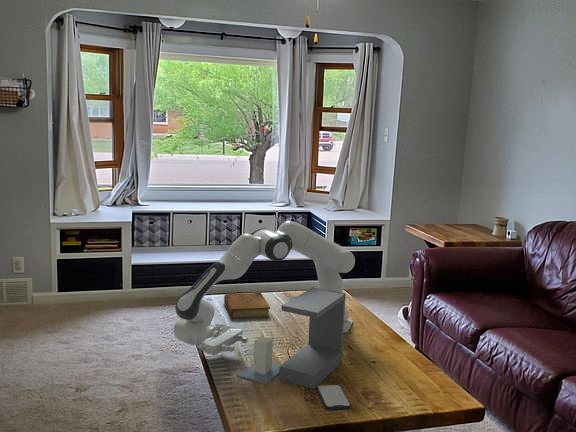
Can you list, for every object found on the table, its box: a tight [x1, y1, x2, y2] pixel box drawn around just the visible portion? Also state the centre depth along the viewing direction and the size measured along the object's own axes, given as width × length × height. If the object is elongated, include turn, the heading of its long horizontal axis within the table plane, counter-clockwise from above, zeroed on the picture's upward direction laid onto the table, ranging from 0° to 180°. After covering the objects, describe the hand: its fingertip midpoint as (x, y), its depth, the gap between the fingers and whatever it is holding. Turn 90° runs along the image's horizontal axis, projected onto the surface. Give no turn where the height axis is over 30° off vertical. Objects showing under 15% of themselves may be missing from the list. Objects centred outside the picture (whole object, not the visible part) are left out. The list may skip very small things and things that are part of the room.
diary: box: [223, 292, 271, 320], centre depth 275 cm, size 23×19×6 cm
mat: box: [236, 362, 281, 385], centre depth 209 cm, size 16×12×1 cm
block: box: [253, 335, 274, 374], centre depth 208 cm, size 5×5×12 cm
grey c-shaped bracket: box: [278, 287, 346, 390], centre depth 209 cm, size 26×14×28 cm, turn 153°
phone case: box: [316, 384, 352, 412], centre depth 191 cm, size 9×2×16 cm
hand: (240, 344), depth 212 cm, fingers open, 8 cm apart
